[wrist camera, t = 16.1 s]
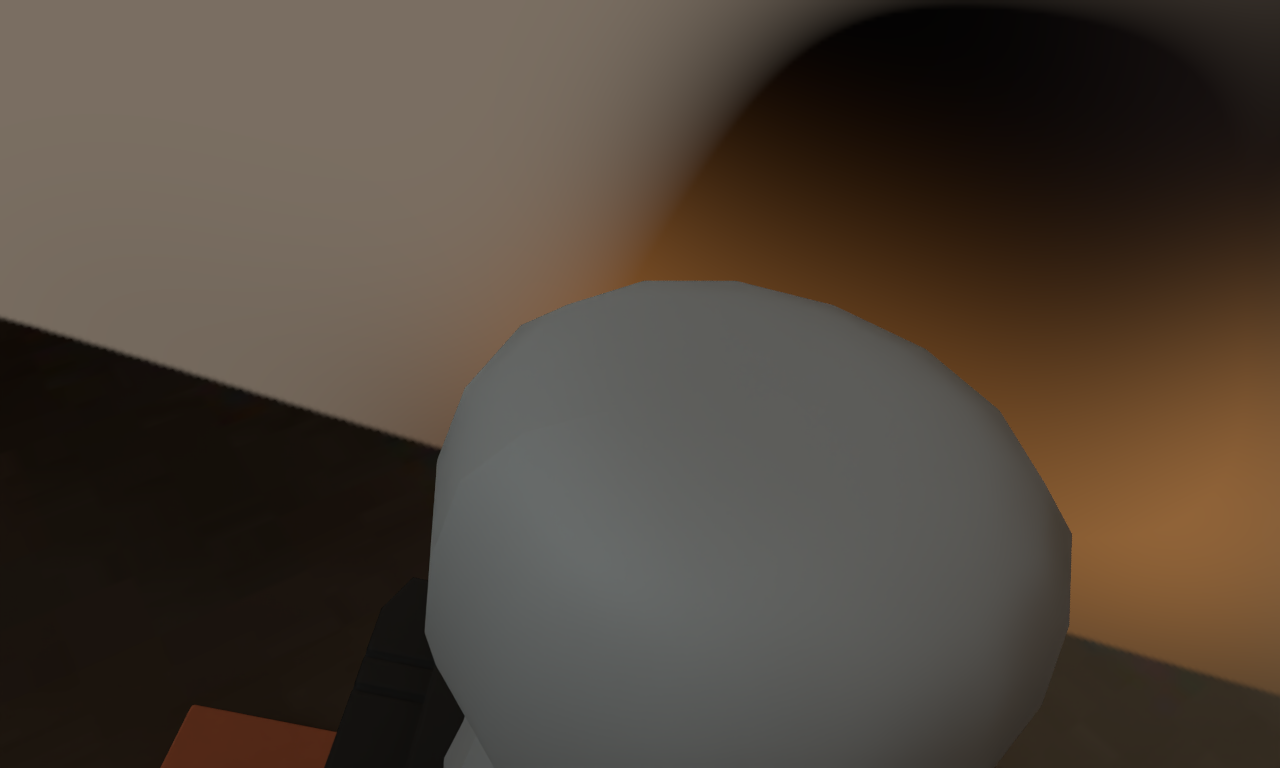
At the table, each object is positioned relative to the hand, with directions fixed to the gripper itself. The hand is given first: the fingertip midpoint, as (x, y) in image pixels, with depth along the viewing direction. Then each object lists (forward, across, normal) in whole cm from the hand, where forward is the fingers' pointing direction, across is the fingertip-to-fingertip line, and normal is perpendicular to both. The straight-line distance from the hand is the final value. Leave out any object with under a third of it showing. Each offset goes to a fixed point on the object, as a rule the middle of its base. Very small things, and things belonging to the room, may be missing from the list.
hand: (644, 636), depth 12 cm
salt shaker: (-3, 0, +8) cm, 8 cm away
